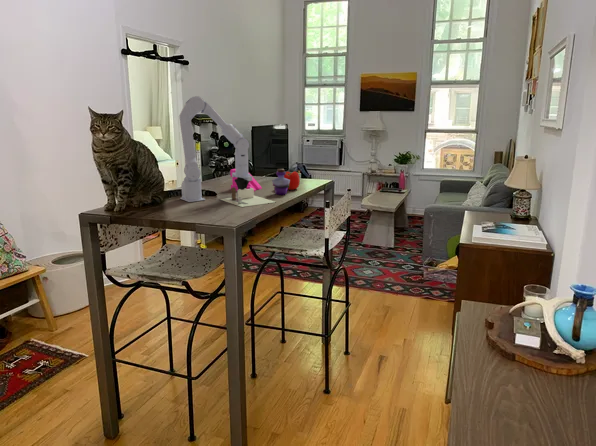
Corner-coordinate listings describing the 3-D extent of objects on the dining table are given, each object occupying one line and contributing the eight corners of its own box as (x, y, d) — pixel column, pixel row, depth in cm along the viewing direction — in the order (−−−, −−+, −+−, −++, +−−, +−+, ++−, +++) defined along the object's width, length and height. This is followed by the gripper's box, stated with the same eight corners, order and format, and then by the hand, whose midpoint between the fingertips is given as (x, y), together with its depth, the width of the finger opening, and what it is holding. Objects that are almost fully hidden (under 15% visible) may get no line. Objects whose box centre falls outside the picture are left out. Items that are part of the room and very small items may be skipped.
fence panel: (238, 199, 198) (238, 189, 197) (237, 198, 199) (236, 189, 198) (253, 197, 203) (253, 188, 202) (252, 196, 204) (252, 187, 203)
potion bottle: (293, 194, 214) (293, 168, 211) (281, 196, 208) (281, 170, 205) (280, 191, 220) (280, 167, 217) (268, 194, 213) (267, 169, 210)
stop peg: (237, 204, 190) (237, 197, 190) (240, 203, 191) (240, 197, 191) (239, 204, 189) (239, 198, 188) (242, 204, 190) (242, 197, 189)
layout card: (220, 199, 199) (220, 198, 199) (253, 195, 209) (253, 194, 209) (242, 207, 185) (242, 206, 185) (276, 202, 195) (276, 201, 194)
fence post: (230, 200, 198) (230, 187, 196) (234, 199, 199) (234, 186, 198) (232, 201, 196) (232, 187, 195) (236, 200, 198) (236, 187, 196)
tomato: (301, 187, 232) (301, 170, 229) (295, 191, 220) (296, 173, 218) (281, 186, 234) (281, 169, 232) (275, 190, 223) (274, 172, 221)
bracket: (230, 190, 223) (230, 169, 221) (240, 187, 232) (240, 167, 230) (252, 192, 219) (252, 171, 216) (261, 188, 228) (261, 168, 226)
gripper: (258, 165, 197) (258, 196, 201) (241, 162, 209) (241, 191, 212) (244, 166, 193) (244, 197, 197) (227, 163, 205) (228, 192, 208)
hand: (242, 194), depth 204 cm, fingers closed
